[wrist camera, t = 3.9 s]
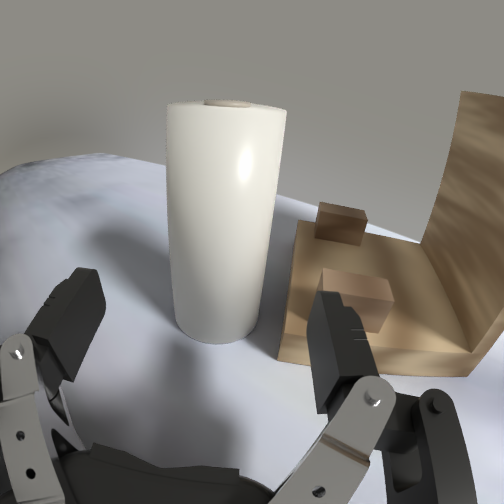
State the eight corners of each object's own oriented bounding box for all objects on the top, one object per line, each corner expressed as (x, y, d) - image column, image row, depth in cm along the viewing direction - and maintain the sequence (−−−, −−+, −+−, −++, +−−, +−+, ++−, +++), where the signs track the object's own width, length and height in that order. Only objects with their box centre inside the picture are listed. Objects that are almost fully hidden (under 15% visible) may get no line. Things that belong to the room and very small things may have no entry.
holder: (277, 360, 17) (341, -1, 7) (294, 243, 28) (323, 49, 19) (467, 376, 15) (584, 127, 5) (423, 267, 27) (474, 96, 17)
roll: (161, 331, 18) (144, 103, 10) (191, 279, 22) (193, 96, 15) (249, 352, 17) (282, 111, 10) (263, 294, 22) (290, 105, 15)
